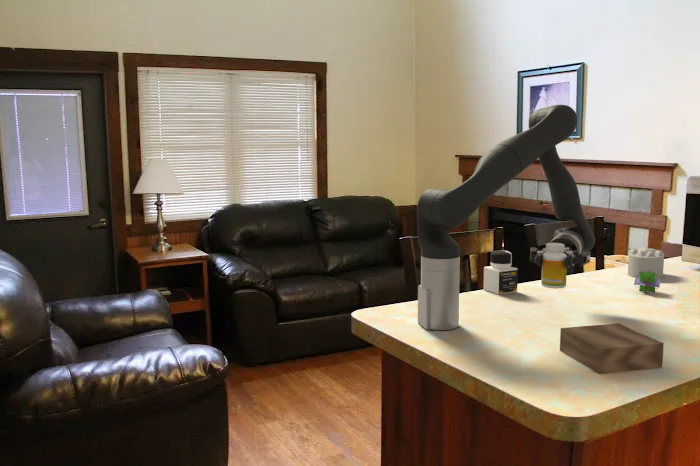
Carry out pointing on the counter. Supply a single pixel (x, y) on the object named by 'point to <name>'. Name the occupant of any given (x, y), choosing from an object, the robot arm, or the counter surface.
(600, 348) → the walnut block
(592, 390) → the counter surface
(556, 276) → the supplement bottle
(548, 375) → the counter surface
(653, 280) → the geometric puzzle
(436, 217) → the robot arm
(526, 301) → the counter surface
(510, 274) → the medicine bottle
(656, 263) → the lumpy-topped squat cylinder
